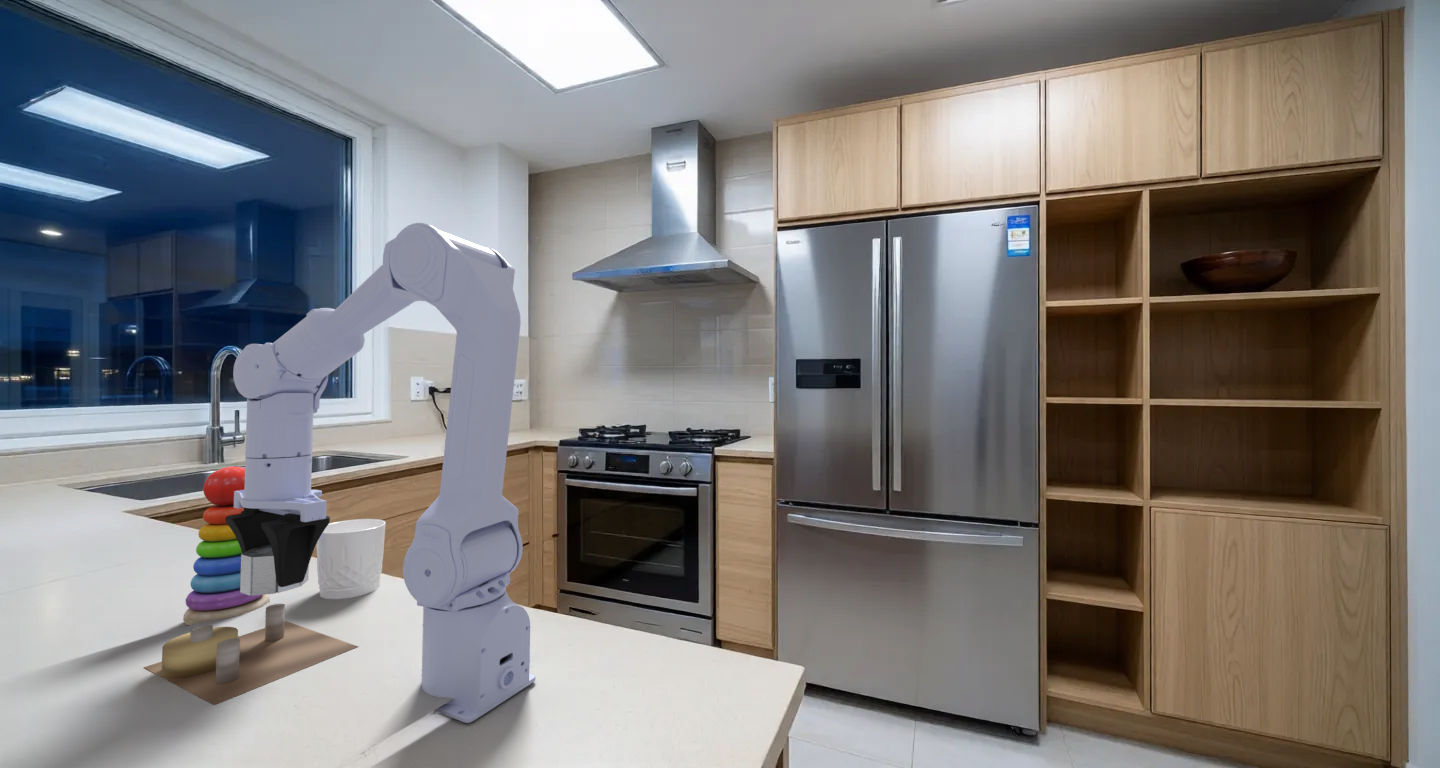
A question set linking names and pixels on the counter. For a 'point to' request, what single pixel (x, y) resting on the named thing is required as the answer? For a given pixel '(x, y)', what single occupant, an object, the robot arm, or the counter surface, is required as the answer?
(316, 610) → the counter surface
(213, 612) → the stacking toy
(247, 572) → the gear ring
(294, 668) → the board
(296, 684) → the counter surface
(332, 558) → the white cup
